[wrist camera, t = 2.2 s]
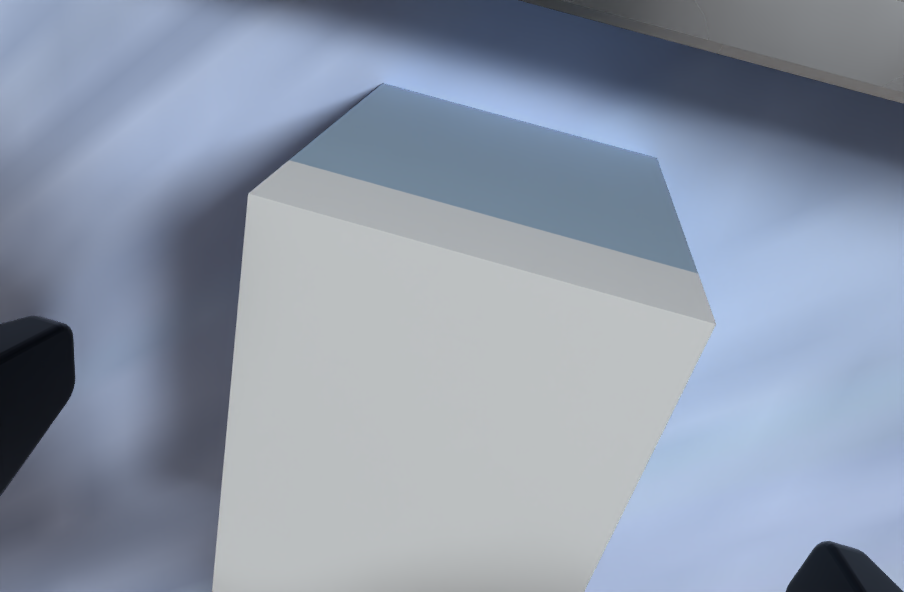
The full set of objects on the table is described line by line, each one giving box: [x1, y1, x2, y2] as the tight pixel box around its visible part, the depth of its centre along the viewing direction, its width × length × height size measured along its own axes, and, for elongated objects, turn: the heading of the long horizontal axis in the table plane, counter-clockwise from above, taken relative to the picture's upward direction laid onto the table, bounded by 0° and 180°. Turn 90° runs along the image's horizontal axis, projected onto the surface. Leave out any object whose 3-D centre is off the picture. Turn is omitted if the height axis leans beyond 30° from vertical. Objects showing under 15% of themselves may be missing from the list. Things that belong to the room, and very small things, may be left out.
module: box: [212, 83, 716, 592], centre depth 10 cm, size 4×6×5 cm
